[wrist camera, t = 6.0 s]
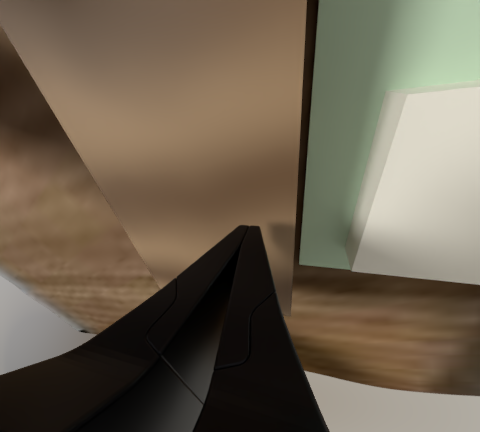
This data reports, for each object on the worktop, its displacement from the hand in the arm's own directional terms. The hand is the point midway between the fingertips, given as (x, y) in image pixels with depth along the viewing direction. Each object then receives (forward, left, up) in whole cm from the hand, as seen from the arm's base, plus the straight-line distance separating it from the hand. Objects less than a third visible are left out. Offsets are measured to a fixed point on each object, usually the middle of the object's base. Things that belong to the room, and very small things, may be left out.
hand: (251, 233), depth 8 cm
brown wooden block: (+1, +3, -5) cm, 6 cm away
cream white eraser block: (0, -8, -3) cm, 9 cm away
